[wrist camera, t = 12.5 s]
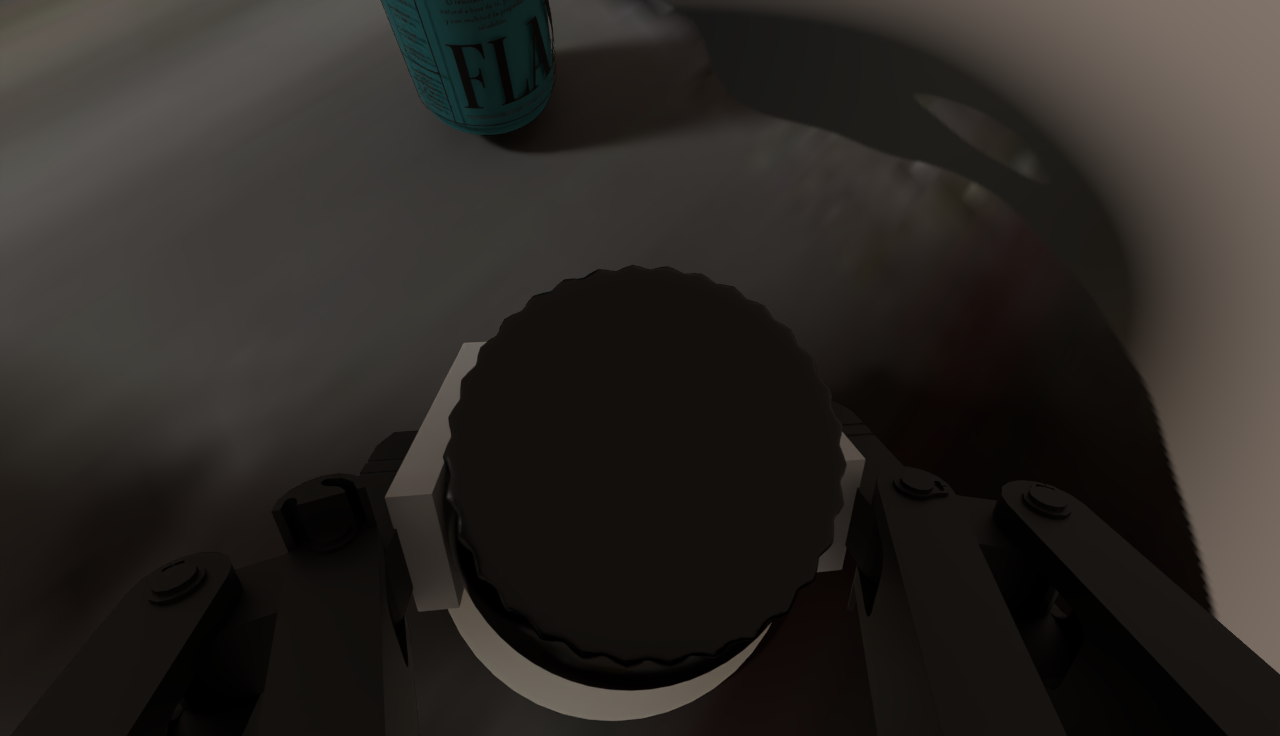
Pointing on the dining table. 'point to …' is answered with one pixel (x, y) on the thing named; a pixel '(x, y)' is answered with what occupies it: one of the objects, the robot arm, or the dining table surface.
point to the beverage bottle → (477, 59)
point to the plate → (574, 695)
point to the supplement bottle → (640, 477)
